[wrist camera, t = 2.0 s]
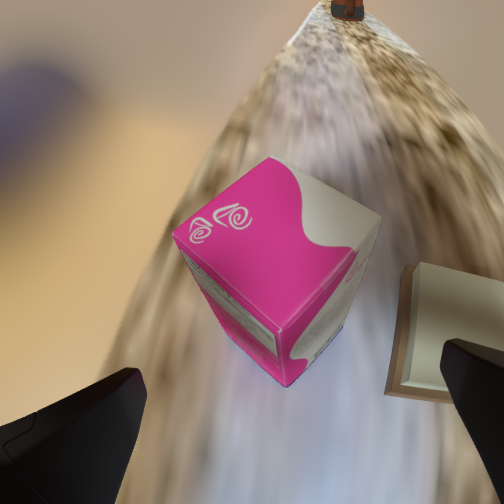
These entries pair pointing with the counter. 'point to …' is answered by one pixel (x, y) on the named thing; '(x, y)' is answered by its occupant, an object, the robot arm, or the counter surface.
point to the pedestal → (440, 326)
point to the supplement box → (279, 263)
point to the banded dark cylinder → (347, 9)
